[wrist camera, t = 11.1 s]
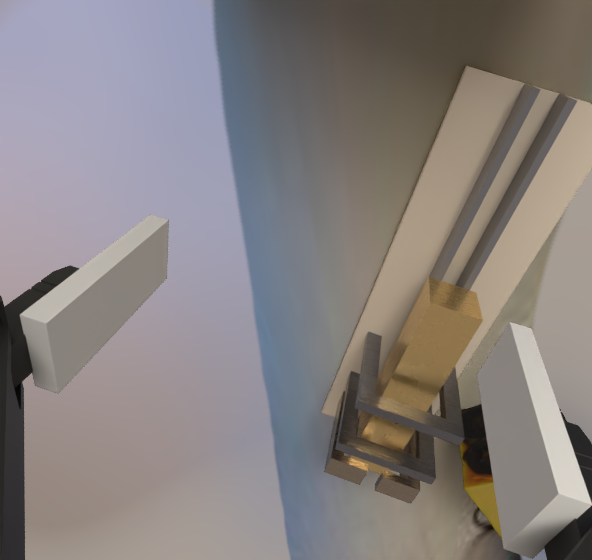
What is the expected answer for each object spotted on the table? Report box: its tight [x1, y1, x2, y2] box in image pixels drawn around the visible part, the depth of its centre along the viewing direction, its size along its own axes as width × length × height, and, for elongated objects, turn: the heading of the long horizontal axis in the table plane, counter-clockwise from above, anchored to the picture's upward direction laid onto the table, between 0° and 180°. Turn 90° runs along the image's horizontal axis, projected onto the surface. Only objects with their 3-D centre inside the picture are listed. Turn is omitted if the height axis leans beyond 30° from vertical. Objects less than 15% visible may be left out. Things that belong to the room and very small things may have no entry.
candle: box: [460, 404, 567, 538], centre depth 45 cm, size 10×10×10 cm
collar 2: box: [335, 371, 436, 484], centre depth 46 cm, size 1×10×11 cm, turn 75°
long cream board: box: [321, 66, 592, 417], centre depth 42 cm, size 40×12×3 cm, turn 165°
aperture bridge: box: [324, 391, 420, 504], centre depth 48 cm, size 2×9×10 cm, turn 75°
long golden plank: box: [349, 277, 483, 474], centre depth 43 cm, size 22×4×4 cm, turn 165°
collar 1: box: [355, 331, 465, 446], centre depth 42 cm, size 1×10×11 cm, turn 75°
